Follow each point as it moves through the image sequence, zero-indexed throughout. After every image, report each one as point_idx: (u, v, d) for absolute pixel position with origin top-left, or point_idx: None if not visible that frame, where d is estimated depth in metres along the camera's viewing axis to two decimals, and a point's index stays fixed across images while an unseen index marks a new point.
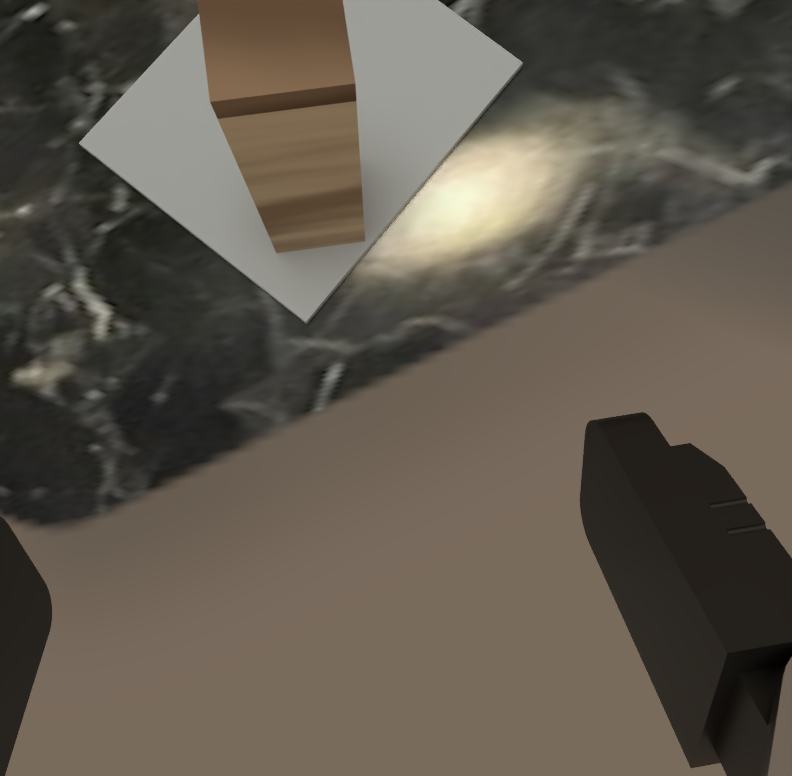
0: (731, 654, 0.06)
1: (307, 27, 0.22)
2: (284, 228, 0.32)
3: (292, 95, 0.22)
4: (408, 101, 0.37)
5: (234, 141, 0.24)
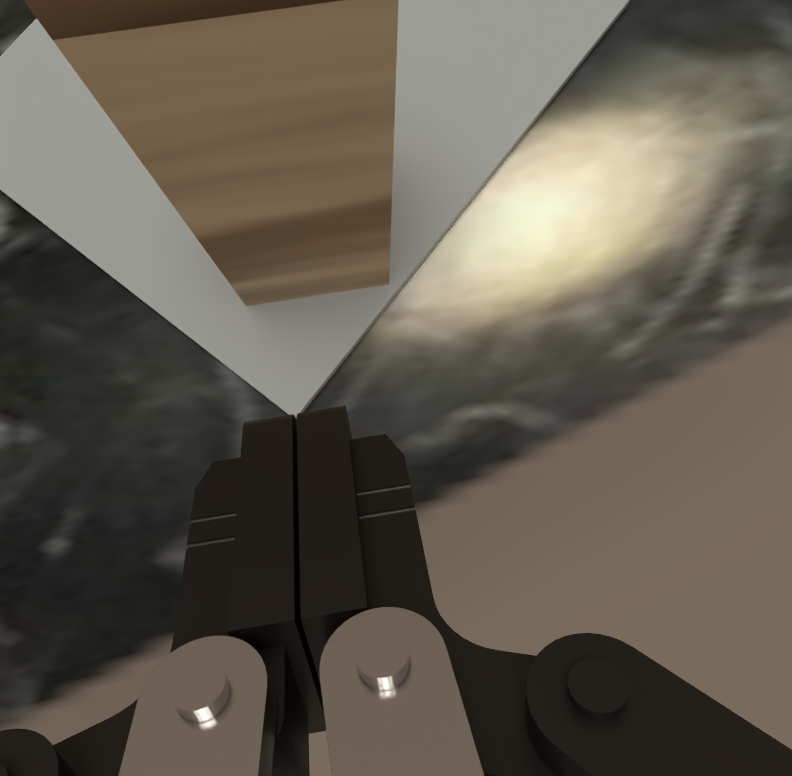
0: (308, 619, 0.07)
1: None
2: (254, 271, 0.19)
3: None
4: (453, 60, 0.23)
5: (115, 103, 0.11)
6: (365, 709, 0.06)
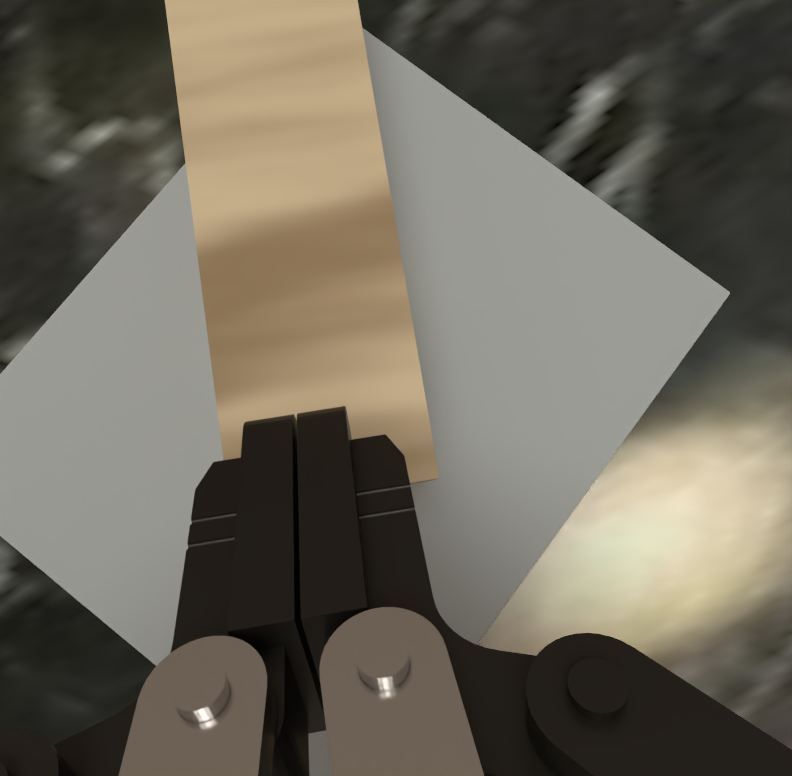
0: (307, 620, 0.07)
1: None
2: (249, 366, 0.15)
3: None
4: (526, 372, 0.20)
5: (177, 23, 0.17)
6: (365, 709, 0.06)
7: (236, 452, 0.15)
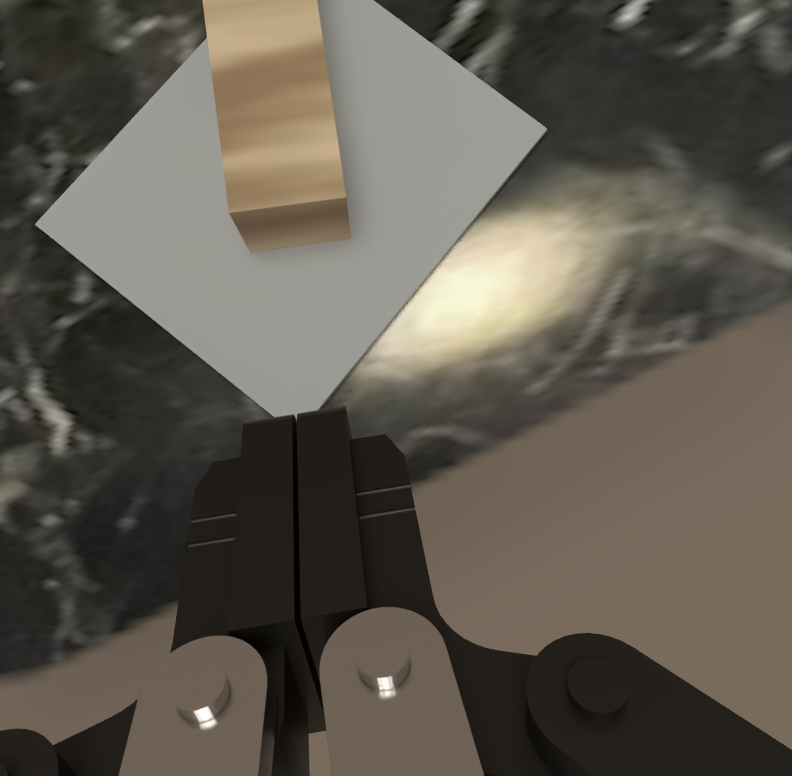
0: (307, 620, 0.07)
1: None
2: (240, 135, 0.27)
3: None
4: (415, 174, 0.32)
5: None
6: (365, 709, 0.06)
7: (232, 181, 0.27)
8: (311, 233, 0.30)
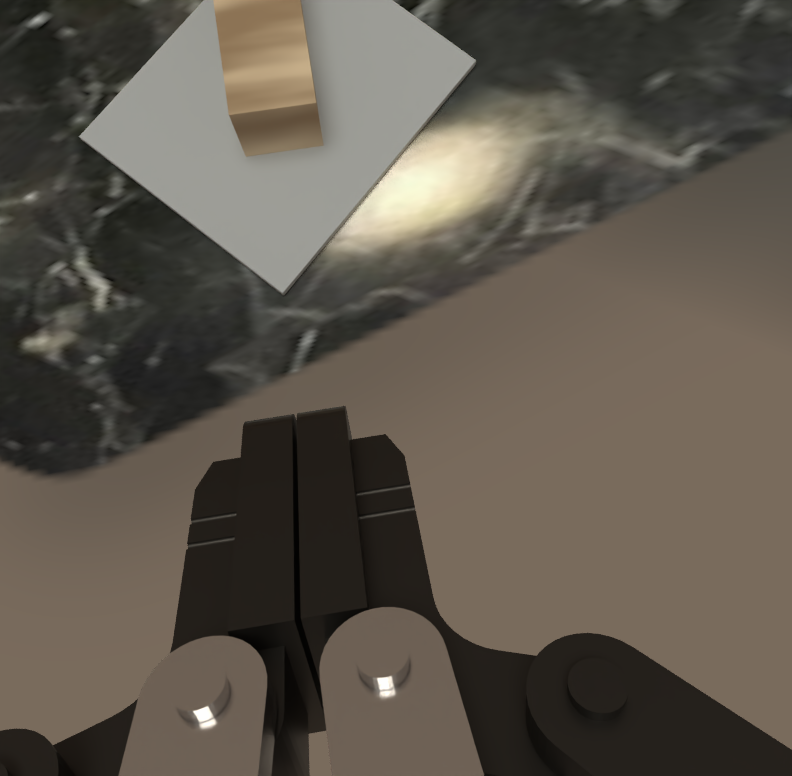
0: (308, 619, 0.07)
1: None
2: (236, 58, 0.36)
3: None
4: (373, 96, 0.41)
5: None
6: (365, 709, 0.06)
7: (231, 91, 0.36)
8: (292, 138, 0.39)
